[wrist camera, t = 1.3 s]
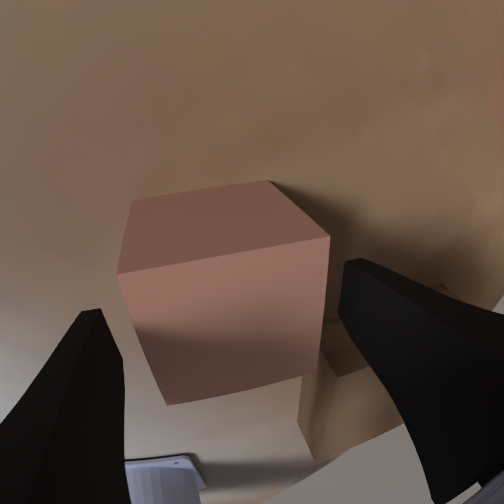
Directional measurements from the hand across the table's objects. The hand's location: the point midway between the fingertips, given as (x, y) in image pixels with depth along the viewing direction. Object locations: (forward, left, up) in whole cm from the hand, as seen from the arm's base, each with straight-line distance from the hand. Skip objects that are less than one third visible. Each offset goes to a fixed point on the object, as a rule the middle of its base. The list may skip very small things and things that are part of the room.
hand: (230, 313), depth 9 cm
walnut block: (+9, -10, -4) cm, 15 cm away
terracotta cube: (0, 0, -4) cm, 4 cm away
